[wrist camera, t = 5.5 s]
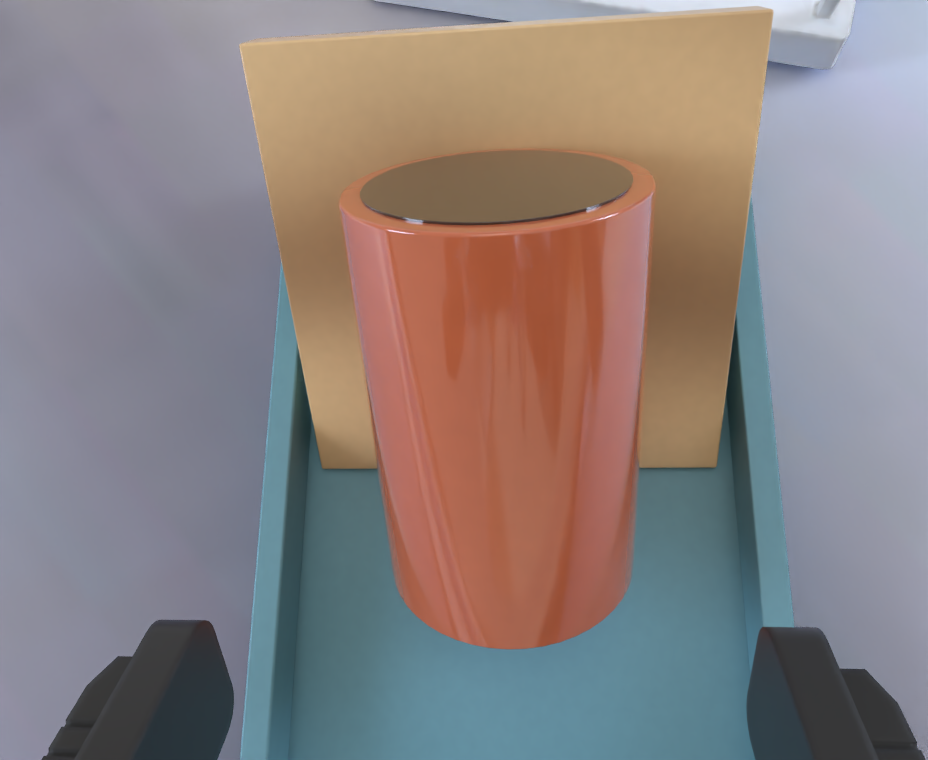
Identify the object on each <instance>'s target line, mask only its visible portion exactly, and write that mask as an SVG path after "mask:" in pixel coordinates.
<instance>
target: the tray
mask: <svg viewBox="0 0 928 760" xmlns="http://www.w3.org/2000/svg"><path fill="white" fill-rule="evenodd" d="M762 627H794V618H793V608H792V598H791V588H790V578H789V568H788V558H787V548H786V538H785V528H784V518H783V508H782V498H781V488H780V478H779V468H778V458H777V448H776V438H775V428H774V418H773V408H772V398H771V388H770V378H769V368H768V358H767V348H766V338H765V328H764V318H763V308H762V298H761V288H760V278H759V268H758V258H757V248H756V238H755V228H754V218H753V208H752V198H750V206H749V214H748V222H747V229H746V237H745V245H744V253H743V261H742V269H741V277H740V285H739V293H738V301H737V309H736V317H735V325H734V333H733V341H732V349H731V357H730V365H729V373H728V381H727V389H726V397H725V405H724V413H723V421H722V429H721V437H720V445H719V453H718V461H717V466H716V467H715V468H639V484H638V500H637V517H636V533H635V549H634V565H633V573H632V578H631V582H630V585H629V588H628V590H627V592H626V593H625V595H624V597H623V599H622V600H621V602H620V603H619V604H618V605H617V607H616V608H615V609H614V610H613V611H612V612H611V613H610V614H609V615H608V616H607V617H606V618H605V619H604V620H603V621H601V622H600V623H598V624H597V625H596V626H594V627H593V628H591V629H590V630H588V631H586V632H584V633H582V634H580V635H578V636H576V637H574V638H571V639H568V640H565V641H563V642H560V643H556V644H552V645H548V646H544V647H537V648H530V649H513V650H506V649H492V648H485V647H480V646H474V645H470V644H467V643H464V642H460V641H457V640H455V639H452V638H450V637H448V636H445V635H443V634H441V633H439V632H438V631H436V630H434V629H433V628H431V627H429V626H428V625H427V624H425V623H424V622H423V621H421V620H420V619H419V618H418V617H417V616H416V615H415V614H414V613H413V612H412V611H411V610H410V609H409V608H408V607H407V605H406V604H405V602H404V601H403V599H402V598H401V596H400V594H399V592H398V590H397V587H396V585H395V581H394V577H393V571H392V565H391V558H390V551H389V544H388V538H387V531H386V524H385V518H384V511H383V504H382V497H381V491H380V484H379V477H378V471H377V469H322V466H321V461H320V456H319V451H318V446H317V441H316V436H315V430H314V425H313V420H312V415H311V410H310V405H309V400H308V395H307V390H306V384H305V379H304V374H303V369H302V364H301V359H300V354H299V349H298V344H297V338H296V333H295V328H294V323H293V318H292V313H291V308H290V303H289V298H288V292H287V287H286V282H285V277H284V272H283V267H282V262H281V273H280V285H279V297H278V309H277V321H276V333H275V345H274V357H273V369H272V381H271V393H270V405H269V417H268V429H267V441H266V453H265V465H264V477H263V489H262V501H261V513H260V525H259V537H258V549H257V561H256V573H255V585H254V597H253V609H252V621H251V633H250V645H249V657H248V669H247V681H246V693H245V705H244V717H243V729H242V741H241V753H240V760H755V756H754V752H753V749H752V745H751V741H750V736H749V731H748V724H747V710H746V703H747V693H748V688H749V682H750V677H751V671H752V666H753V660H754V655H755V649H756V644H757V638H758V634H759V631H760V629H761V628H762Z"/></svg>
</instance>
